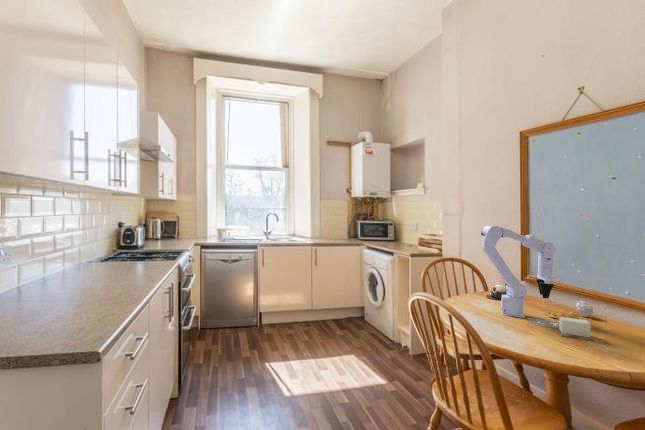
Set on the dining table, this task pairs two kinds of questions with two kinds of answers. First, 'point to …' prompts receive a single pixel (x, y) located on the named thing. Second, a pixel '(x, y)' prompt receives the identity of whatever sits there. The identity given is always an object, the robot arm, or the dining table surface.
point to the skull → (497, 292)
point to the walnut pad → (574, 336)
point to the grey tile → (543, 322)
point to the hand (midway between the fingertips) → (544, 296)
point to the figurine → (570, 315)
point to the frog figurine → (584, 309)
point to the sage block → (574, 326)
